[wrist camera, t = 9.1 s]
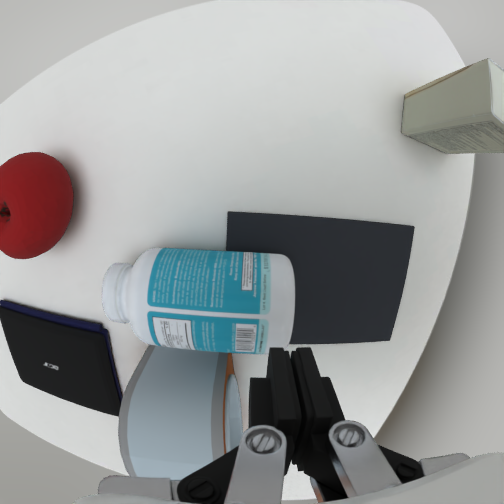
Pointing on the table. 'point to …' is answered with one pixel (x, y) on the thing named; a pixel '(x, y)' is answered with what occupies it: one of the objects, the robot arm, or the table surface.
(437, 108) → the cosmetic box
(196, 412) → the alarm clock
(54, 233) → the apple
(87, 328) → the laptop
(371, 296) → the mat
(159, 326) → the pill bottle
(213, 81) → the table surface
